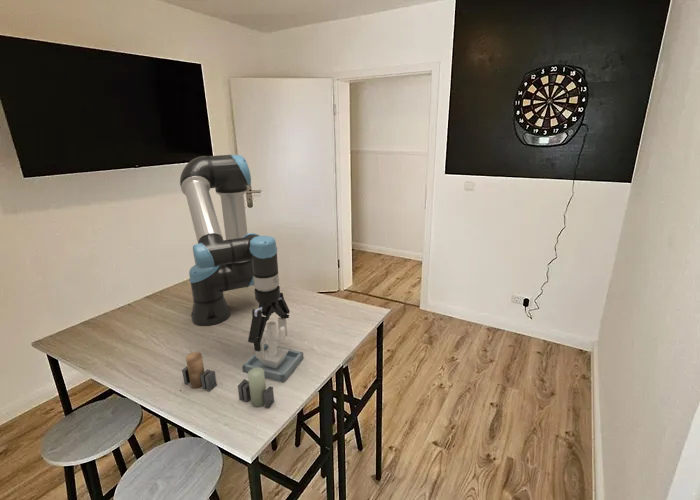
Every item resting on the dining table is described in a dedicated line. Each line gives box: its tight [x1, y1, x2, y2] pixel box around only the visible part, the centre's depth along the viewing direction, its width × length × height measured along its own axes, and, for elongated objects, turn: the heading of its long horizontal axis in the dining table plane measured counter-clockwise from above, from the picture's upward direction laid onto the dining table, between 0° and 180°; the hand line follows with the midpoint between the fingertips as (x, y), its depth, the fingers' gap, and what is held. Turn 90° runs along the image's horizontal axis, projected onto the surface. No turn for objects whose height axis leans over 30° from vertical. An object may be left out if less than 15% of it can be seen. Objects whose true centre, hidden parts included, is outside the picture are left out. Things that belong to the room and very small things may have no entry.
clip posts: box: [181, 365, 275, 409], centre depth 108 cm, size 30×3×5 cm, turn 69°
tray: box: [242, 343, 304, 383], centre depth 120 cm, size 15×13×2 cm
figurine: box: [259, 321, 289, 369], centre depth 118 cm, size 7×9×15 cm
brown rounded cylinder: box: [185, 351, 205, 390], centre depth 111 cm, size 4×4×10 cm
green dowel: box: [247, 368, 267, 408], centre depth 103 cm, size 4×4×10 cm
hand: (272, 346), depth 118 cm, fingers open, 13 cm apart
